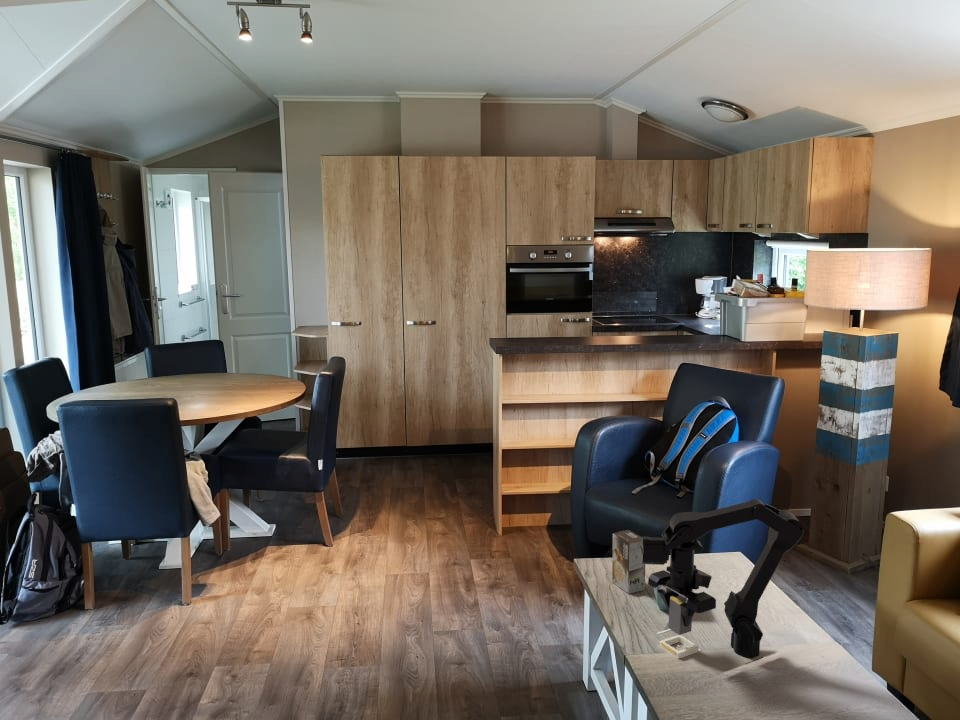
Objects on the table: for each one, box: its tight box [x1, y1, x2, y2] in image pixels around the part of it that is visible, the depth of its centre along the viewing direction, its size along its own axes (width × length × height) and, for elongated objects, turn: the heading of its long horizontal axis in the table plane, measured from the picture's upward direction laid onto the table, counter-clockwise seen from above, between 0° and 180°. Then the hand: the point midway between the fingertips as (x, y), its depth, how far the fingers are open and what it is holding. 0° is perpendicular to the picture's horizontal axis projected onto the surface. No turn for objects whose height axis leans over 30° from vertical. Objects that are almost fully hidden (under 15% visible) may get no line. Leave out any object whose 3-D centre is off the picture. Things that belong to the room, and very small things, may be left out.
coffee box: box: [611, 529, 646, 595], centre depth 231 cm, size 9×6×16 cm
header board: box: [656, 628, 702, 659], centre depth 198 cm, size 13×11×2 cm
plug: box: [667, 596, 693, 636], centre depth 193 cm, size 4×4×9 cm
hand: (680, 622), depth 194 cm, fingers closed on plug, 4 cm apart
